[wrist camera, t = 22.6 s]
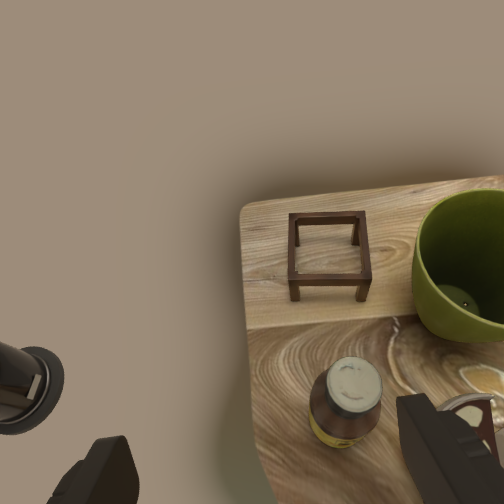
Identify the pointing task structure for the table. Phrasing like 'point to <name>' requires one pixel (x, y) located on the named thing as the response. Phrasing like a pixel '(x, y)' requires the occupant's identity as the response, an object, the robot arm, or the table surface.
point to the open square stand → (357, 280)
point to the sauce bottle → (345, 402)
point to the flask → (500, 445)
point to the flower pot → (462, 267)
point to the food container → (475, 416)
